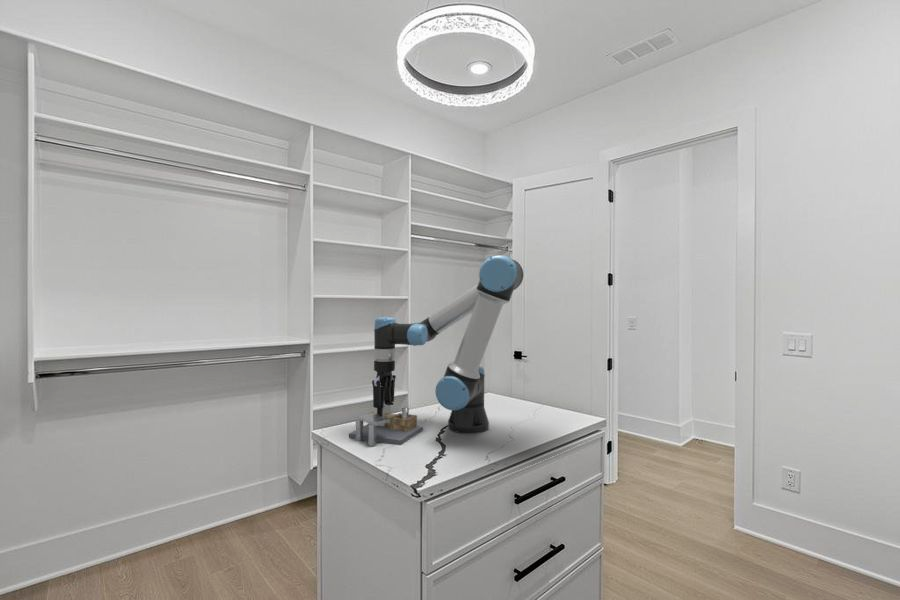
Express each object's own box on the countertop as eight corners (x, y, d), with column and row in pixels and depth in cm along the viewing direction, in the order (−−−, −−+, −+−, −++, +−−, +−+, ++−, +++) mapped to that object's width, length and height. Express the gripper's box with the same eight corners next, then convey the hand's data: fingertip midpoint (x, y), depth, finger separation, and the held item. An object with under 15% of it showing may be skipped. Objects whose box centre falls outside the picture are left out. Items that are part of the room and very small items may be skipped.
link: (416, 426, 160) (416, 415, 160) (408, 431, 154) (408, 420, 153) (375, 421, 166) (375, 410, 166) (365, 426, 160) (365, 415, 160)
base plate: (422, 430, 160) (422, 426, 160) (401, 444, 144) (401, 440, 144) (374, 424, 167) (374, 420, 167) (348, 437, 151) (348, 433, 151)
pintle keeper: (409, 431, 158) (409, 407, 158) (383, 447, 141) (383, 421, 141) (378, 427, 163) (378, 404, 163) (349, 443, 146) (349, 417, 146)
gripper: (386, 356, 170) (385, 417, 170) (363, 362, 154) (362, 429, 155) (404, 357, 167) (403, 419, 167) (382, 363, 152) (381, 431, 152)
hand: (383, 424), depth 161 cm, fingers closed on link, 3 cm apart
